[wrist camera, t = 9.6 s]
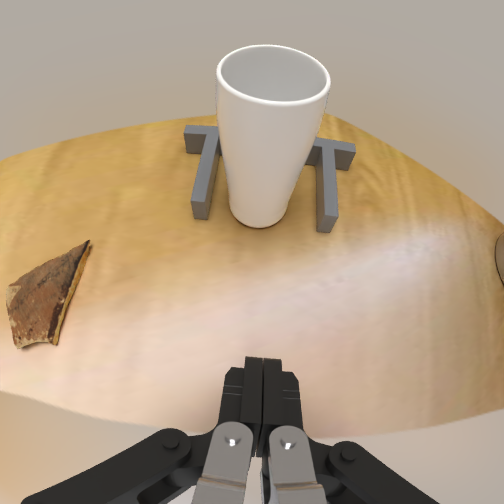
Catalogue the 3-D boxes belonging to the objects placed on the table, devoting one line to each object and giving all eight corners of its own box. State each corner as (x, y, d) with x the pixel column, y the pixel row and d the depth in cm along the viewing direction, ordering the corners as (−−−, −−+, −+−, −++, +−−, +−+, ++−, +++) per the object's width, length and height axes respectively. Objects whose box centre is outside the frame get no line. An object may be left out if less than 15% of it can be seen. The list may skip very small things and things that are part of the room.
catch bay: (346, 162, 33) (354, 143, 30) (352, 235, 29) (363, 220, 26) (189, 144, 32) (186, 125, 30) (170, 216, 29) (164, 198, 26)
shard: (95, 246, 28) (88, 237, 26) (119, 318, 25) (112, 313, 24) (11, 290, 25) (1, 284, 24) (27, 361, 23) (16, 358, 21)
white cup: (213, 184, 30) (204, 49, 17) (279, 170, 31) (304, 41, 18) (232, 246, 28) (231, 114, 14) (304, 227, 29) (353, 100, 15)
